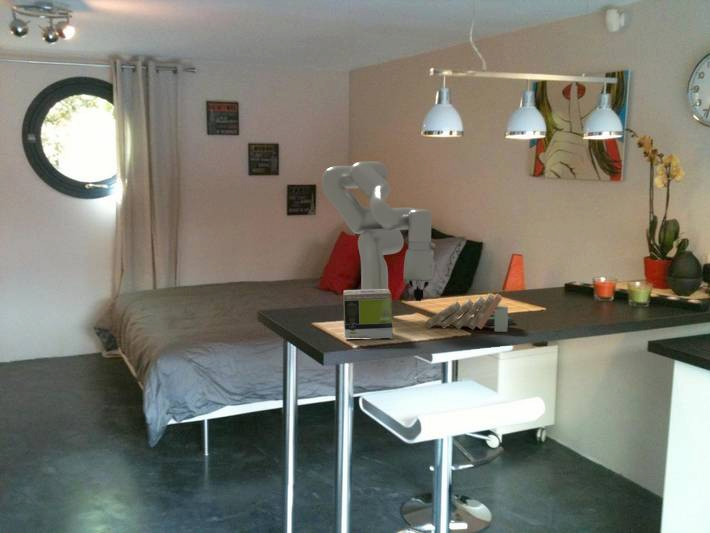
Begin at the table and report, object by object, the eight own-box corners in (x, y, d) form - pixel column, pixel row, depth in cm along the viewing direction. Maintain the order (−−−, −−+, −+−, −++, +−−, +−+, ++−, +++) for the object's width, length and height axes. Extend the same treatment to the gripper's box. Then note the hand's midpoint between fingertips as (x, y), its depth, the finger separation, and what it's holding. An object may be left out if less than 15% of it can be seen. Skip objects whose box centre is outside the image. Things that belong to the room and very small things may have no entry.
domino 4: (468, 326, 236) (488, 296, 233) (469, 322, 241) (489, 293, 239) (473, 329, 235) (493, 300, 233) (474, 326, 241) (494, 296, 238)
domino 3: (454, 325, 237) (479, 299, 234) (456, 321, 242) (480, 296, 239) (459, 329, 236) (483, 303, 233) (460, 325, 242) (484, 300, 239)
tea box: (390, 332, 233) (389, 287, 231) (392, 339, 223) (392, 293, 221) (344, 333, 233) (343, 288, 231) (344, 340, 223) (343, 294, 221)
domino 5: (475, 325, 235) (496, 296, 232) (477, 322, 241) (497, 292, 238) (481, 329, 235) (501, 299, 232) (482, 325, 240) (502, 296, 238)
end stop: (494, 331, 233) (494, 310, 232) (495, 326, 241) (495, 305, 240) (507, 331, 232) (507, 310, 231) (507, 326, 240) (507, 305, 239)
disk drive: (473, 318, 257) (483, 326, 242) (473, 310, 256) (483, 318, 242) (501, 317, 257) (513, 325, 243) (501, 309, 257) (513, 317, 242)
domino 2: (440, 324, 238) (468, 301, 235) (442, 320, 243) (469, 298, 240) (444, 328, 238) (472, 306, 234) (445, 325, 243) (473, 303, 240)
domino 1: (425, 323, 239) (455, 304, 236) (427, 319, 244) (457, 301, 241) (428, 328, 239) (458, 309, 236) (431, 324, 244) (460, 305, 241)
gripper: (443, 245, 241) (441, 299, 244) (398, 244, 244) (398, 297, 247) (440, 248, 234) (439, 303, 237) (395, 247, 237) (394, 301, 240)
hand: (418, 300), depth 242 cm, fingers closed
